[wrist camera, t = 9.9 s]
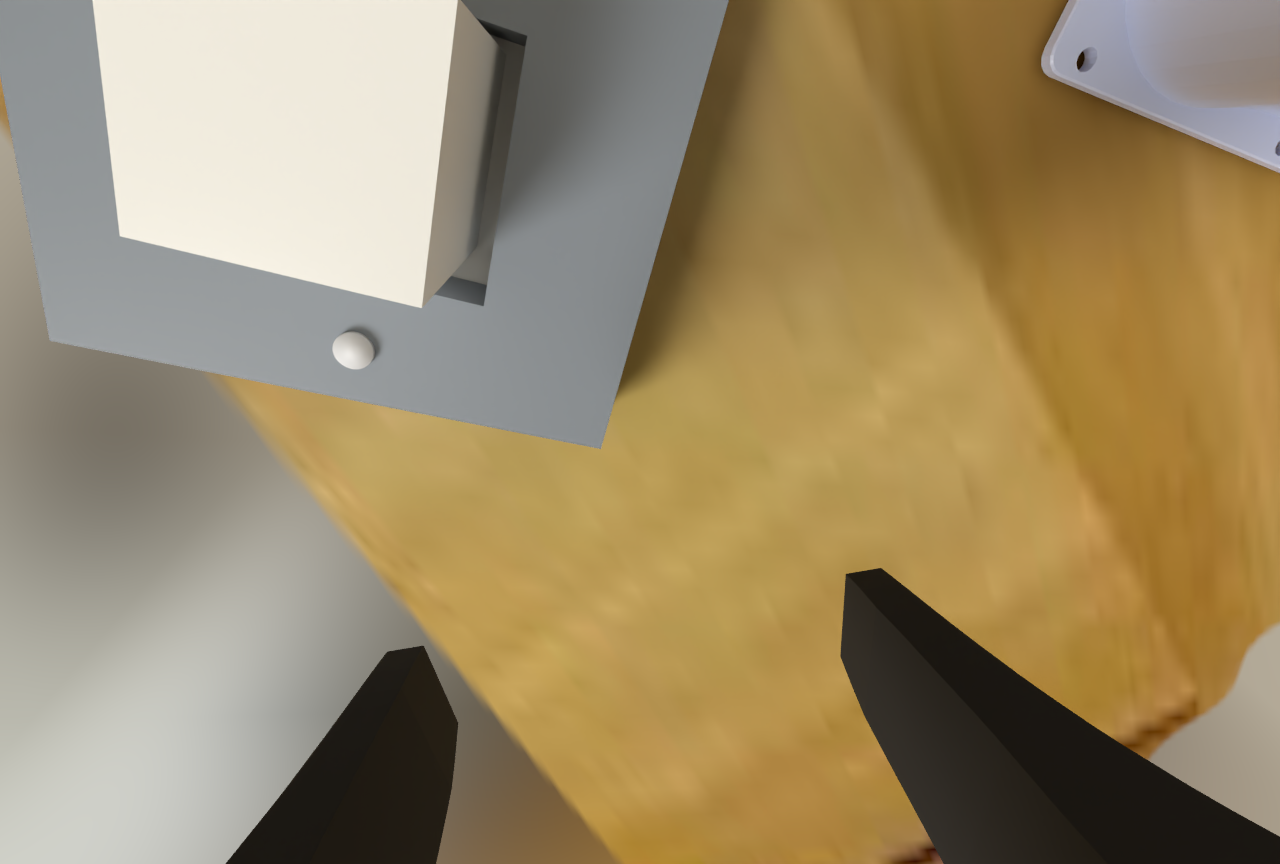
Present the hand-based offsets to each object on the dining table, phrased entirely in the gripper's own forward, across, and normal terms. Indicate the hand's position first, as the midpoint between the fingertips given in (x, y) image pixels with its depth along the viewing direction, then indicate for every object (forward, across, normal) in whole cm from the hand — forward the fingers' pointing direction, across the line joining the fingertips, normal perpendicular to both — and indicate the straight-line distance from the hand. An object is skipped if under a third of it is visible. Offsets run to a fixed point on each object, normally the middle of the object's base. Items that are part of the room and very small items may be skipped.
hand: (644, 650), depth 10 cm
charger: (+9, +4, -9) cm, 13 cm away
